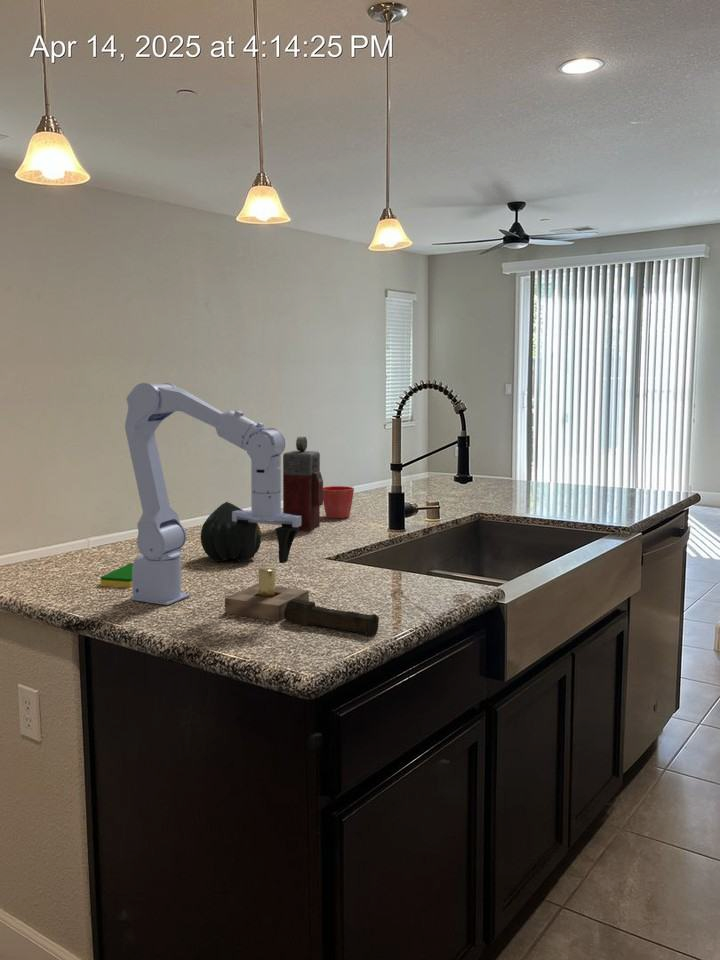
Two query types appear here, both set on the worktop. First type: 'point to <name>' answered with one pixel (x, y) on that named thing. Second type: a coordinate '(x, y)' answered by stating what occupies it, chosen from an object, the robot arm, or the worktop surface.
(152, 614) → the worktop surface
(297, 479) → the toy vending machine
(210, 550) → the squash
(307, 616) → the hand tool
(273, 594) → the brass peg
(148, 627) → the worktop surface
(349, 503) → the flower pot
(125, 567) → the dish sponge
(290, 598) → the socket block
